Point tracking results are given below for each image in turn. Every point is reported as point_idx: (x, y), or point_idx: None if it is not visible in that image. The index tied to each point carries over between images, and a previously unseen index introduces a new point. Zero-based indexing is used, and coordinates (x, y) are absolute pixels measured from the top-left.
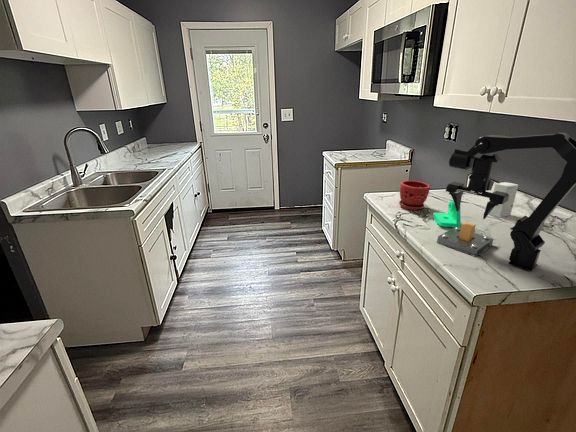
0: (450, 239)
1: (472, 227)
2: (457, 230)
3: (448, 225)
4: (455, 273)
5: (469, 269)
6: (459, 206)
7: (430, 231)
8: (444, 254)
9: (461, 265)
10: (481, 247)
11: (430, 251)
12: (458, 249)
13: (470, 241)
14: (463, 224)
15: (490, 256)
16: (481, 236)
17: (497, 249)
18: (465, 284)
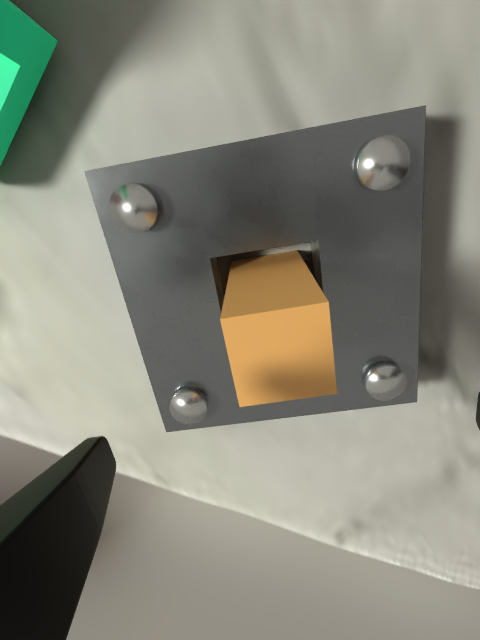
0: (235, 409)
1: (333, 368)
2: (151, 230)
3: (6, 137)
4: (403, 553)
5: (429, 497)
6: (70, 504)
7: (33, 310)
8: (286, 475)
9: (389, 495)
10: (418, 351)
11: (231, 498)
12: None
13: None
14: (255, 402)
15: (456, 307)
16: (333, 161)
17: (457, 160)
18: (461, 579)
